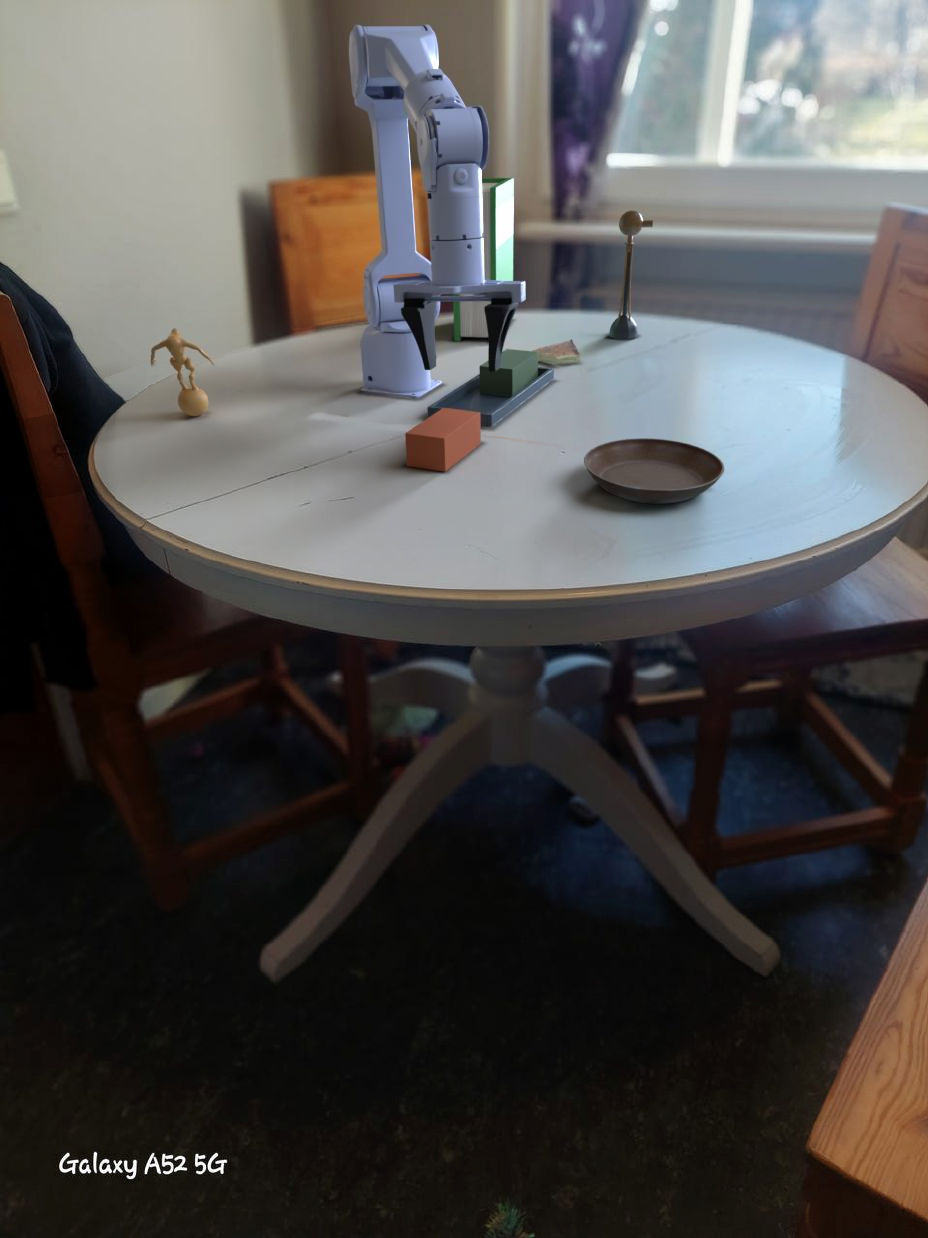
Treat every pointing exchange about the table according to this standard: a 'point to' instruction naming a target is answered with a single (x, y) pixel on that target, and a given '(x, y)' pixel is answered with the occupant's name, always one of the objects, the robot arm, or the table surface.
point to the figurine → (192, 396)
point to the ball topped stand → (628, 276)
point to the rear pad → (509, 373)
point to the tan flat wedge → (559, 353)
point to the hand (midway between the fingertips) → (462, 369)
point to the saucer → (653, 469)
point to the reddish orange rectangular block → (443, 439)
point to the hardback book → (490, 254)
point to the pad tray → (489, 398)
